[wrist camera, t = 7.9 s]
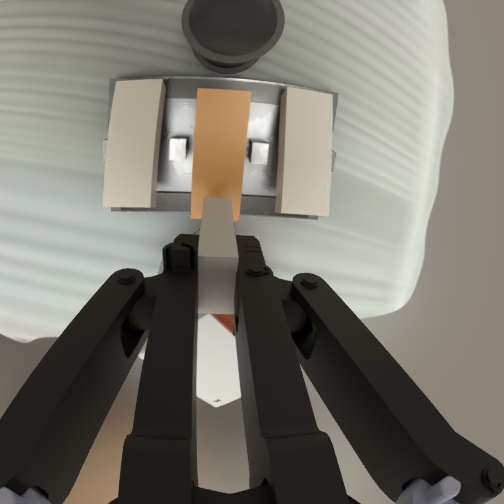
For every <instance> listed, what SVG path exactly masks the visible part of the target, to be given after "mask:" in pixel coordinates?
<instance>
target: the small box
mask: <svg viewBox="0 0 504 504" xmlns="http://www.w3.org/2000/svg"><path fill="white" fill-rule="evenodd" d="M194 235H200V230H199V231H197V232H196V233H195V234H194ZM162 272H163V259H162V262H161V265H160V269H159V272H158V275H159V274H161V273H162ZM234 315H235V310H234V314H199V313H198V338H197V382H196V396H197V397H199V398H200V399H202V400H204V401H206V402H207V403H209V404H211V405H212V406H214V407H218V406H221V405H224V404H226V403H229V402H231V401H233V400H236V399H238V398H240V397H241V391H240V381H239V371H238V361H237V351H236V340H235V336H233V327H234ZM147 339H148V338H147ZM146 345H147V340H146V342H145V343H144V345H143V347H142V349H141V351H140V353H139V354H138V356H139V357H140V358H141V359H143V360H144V355H145V350H146Z"/></svg>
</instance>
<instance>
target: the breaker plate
mask: <svg viewBox="0 0 504 504" xmlns="http://www.w3.org/2000/svg"><path fill="white" fill-rule="evenodd" d="M142 79H163V81H164V84H165V87H166V95H165V102H164V110H163V119H162V128H161V138H160V148H159V160H158V174H157V191H156V207H152V208H145V207H111V211H131V212H175V213H191V190H192V165H193V145H194V129H195V115H196V102H197V90H198V88H207V89H226V90H240V91H251V92H252V93H251V102H250V112H249V122H248V131H247V141H246V152H245V162H244V172H243V183H242V194H241V205H240V215H249V216H268V217H285V218H300V219H315V220H318V216H316V215H302V214H287V213H277V212H275V203H276V185H277V167H278V147H279V126H280V103H281V95H282V93H283V92H284V90H285V89H286V88H287V87H293V88H299V89H305V90H311V91H317V92H322V93H327V94H332V95H333V125H332V134H333V128H334V121H335V114H336V107H337V100H338V93H334V92H329V91H324V90H319V89H314V88H308V87H302V86H296V85H289V84H282V83H275V82H267V81H258V80H248V79H237V78H222V77H200V76H156V77H134V78H120V79H110V88H109V110H108V131H109V123H110V116H111V109H112V103H113V97H114V91H115V86H116V81H125V80H142ZM107 140H108V138H106V139H104V140H102V151H103V161H105V159H106V149H107ZM335 156H336V152H334V151H332V165H331V172H333V167H334V162H335Z"/></svg>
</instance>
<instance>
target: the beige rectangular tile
mask: <svg viewBox="0 0 504 504" xmlns="http://www.w3.org/2000/svg"><path fill="white" fill-rule="evenodd" d="M332 125H333V95H332V94H327V93H322V92H317V91H311V90H305V89H299V88H293V87H287V88H286V89H285V90H284V92H283V93H282V95H281V103H280V126H279V147H278V167H277V185H276V203H275V212H277V213H287V214H302V215H316V216H329V205H330V187H331V165H332Z"/></svg>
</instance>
